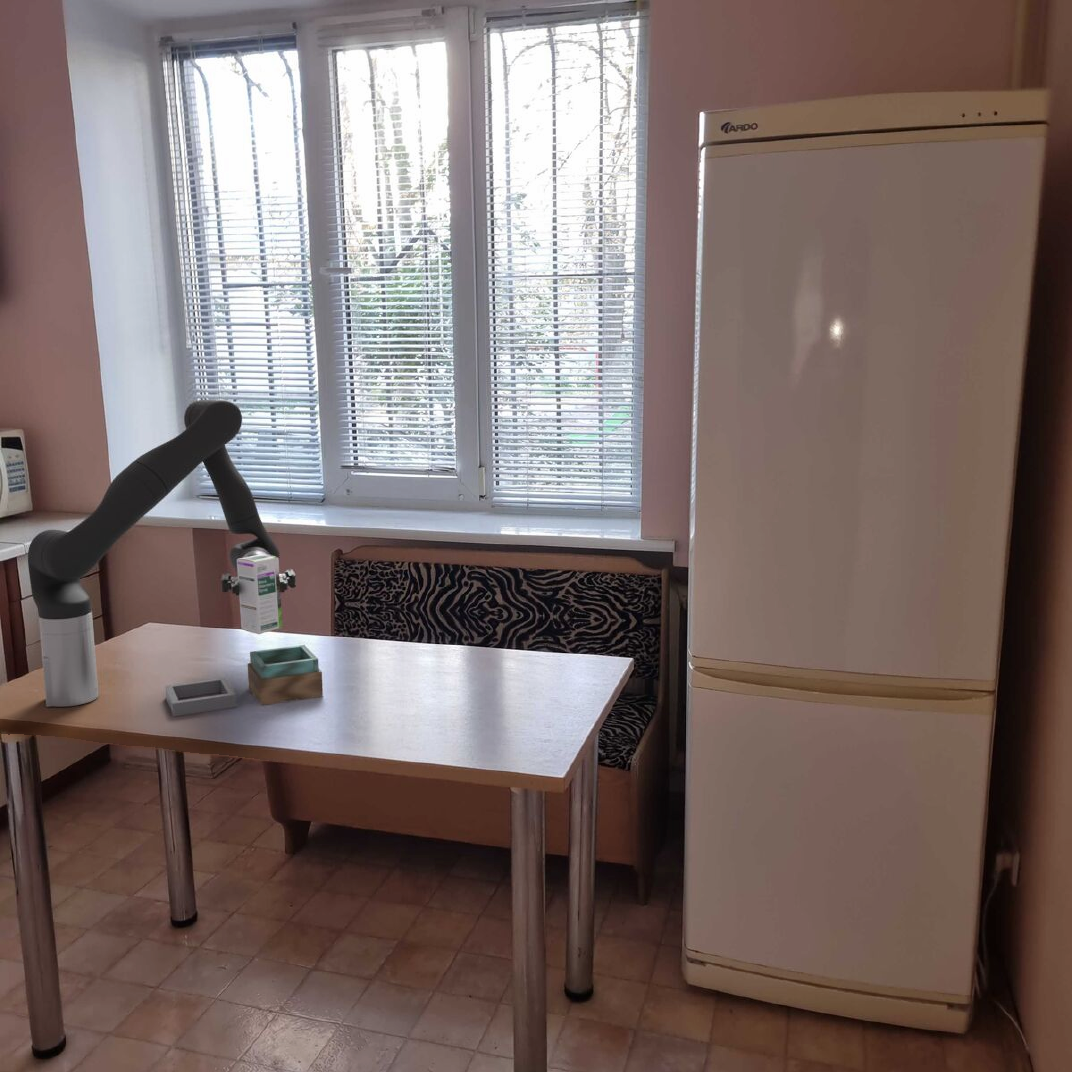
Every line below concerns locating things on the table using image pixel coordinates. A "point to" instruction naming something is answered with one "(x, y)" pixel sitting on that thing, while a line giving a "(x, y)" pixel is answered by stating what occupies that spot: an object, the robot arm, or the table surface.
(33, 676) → the table surface
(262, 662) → the raised dock
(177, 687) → the low ring
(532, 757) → the table surface
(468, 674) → the table surface
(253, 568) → the syrup box
